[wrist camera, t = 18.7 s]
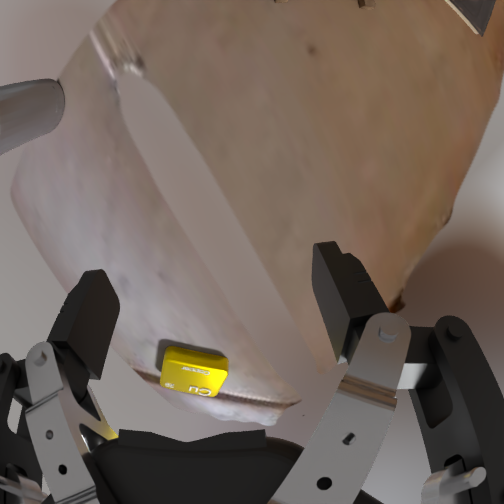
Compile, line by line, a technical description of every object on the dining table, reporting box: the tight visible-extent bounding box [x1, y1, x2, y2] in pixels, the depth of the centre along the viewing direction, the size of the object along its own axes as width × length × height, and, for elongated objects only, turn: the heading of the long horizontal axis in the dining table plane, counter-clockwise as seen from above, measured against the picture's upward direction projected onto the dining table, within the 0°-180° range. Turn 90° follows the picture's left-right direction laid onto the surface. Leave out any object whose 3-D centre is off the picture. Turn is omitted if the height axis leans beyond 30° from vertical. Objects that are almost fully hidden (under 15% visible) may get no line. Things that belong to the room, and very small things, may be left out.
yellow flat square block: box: [160, 346, 229, 397], centre depth 61 cm, size 15×15×5 cm
